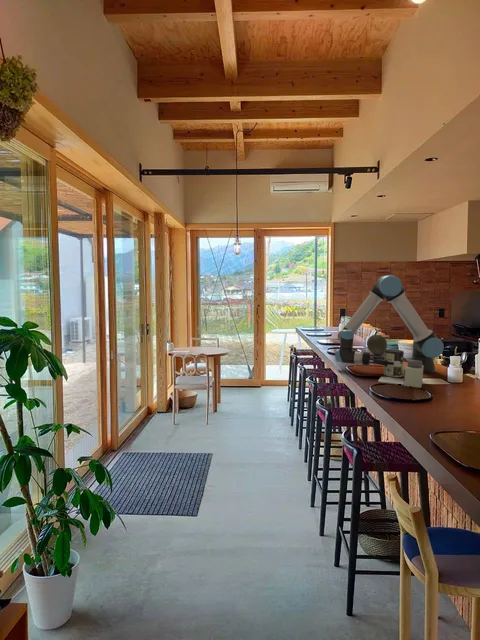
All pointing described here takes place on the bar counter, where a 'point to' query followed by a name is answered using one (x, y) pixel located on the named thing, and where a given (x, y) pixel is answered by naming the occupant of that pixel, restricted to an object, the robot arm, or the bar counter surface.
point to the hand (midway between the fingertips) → (401, 362)
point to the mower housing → (408, 375)
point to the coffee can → (394, 356)
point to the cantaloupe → (377, 344)
